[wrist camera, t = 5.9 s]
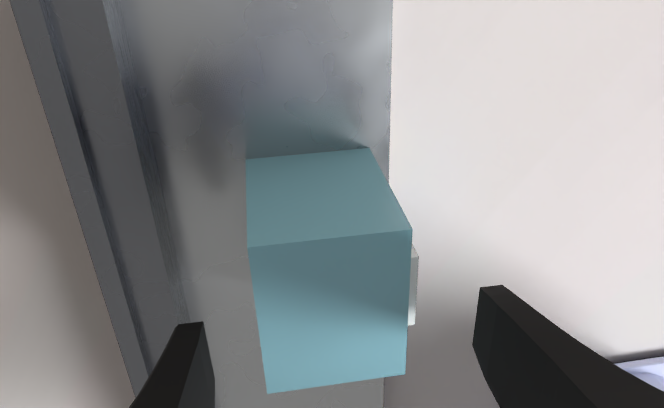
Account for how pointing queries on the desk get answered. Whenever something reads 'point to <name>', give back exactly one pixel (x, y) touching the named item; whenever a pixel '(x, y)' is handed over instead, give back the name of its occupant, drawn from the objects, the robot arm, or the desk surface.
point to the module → (328, 269)
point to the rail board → (201, 153)
